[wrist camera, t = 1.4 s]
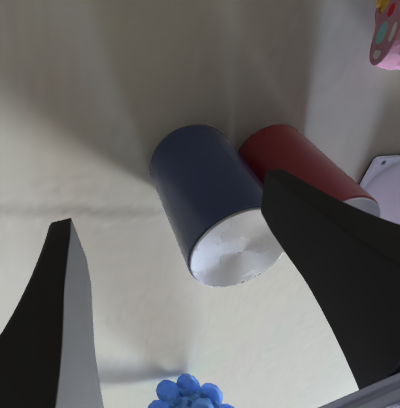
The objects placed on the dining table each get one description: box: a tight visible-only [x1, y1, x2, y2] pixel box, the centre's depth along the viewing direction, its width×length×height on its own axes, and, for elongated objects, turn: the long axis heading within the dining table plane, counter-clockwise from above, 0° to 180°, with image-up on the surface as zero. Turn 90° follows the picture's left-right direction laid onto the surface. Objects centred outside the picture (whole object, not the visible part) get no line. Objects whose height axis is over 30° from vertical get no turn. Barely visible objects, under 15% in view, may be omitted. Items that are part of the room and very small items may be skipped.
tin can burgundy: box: [238, 125, 380, 217], centre depth 24 cm, size 6×6×9 cm
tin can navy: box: [150, 125, 284, 287], centre depth 21 cm, size 6×6×9 cm
